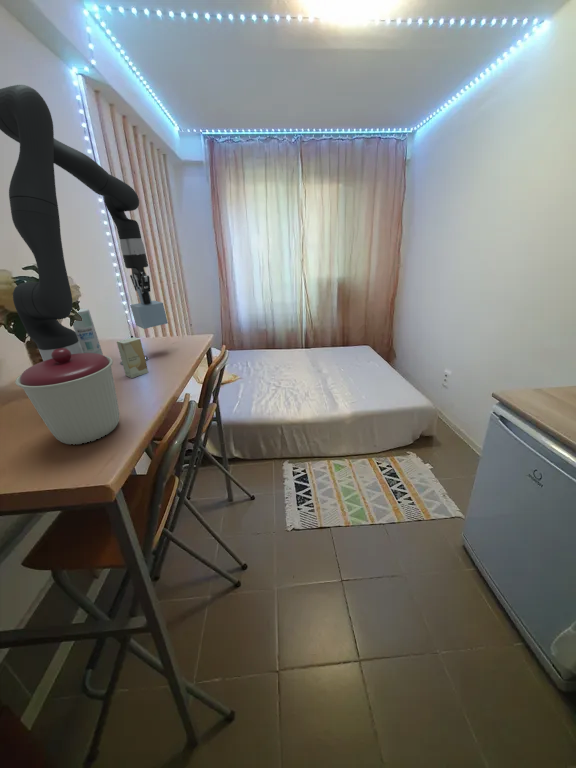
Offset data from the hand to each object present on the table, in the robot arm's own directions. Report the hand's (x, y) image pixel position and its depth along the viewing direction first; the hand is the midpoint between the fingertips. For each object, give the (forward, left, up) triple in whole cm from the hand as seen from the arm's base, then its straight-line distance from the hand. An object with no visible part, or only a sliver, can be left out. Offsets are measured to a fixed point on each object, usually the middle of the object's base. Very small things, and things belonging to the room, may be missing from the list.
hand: (145, 303), depth 117 cm
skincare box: (-13, -14, -21) cm, 28 cm away
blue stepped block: (0, 0, -8) cm, 8 cm away
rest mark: (-9, +1, -20) cm, 22 cm away
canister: (-34, -43, -21) cm, 59 cm away
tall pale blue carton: (-20, +12, -21) cm, 31 cm away
